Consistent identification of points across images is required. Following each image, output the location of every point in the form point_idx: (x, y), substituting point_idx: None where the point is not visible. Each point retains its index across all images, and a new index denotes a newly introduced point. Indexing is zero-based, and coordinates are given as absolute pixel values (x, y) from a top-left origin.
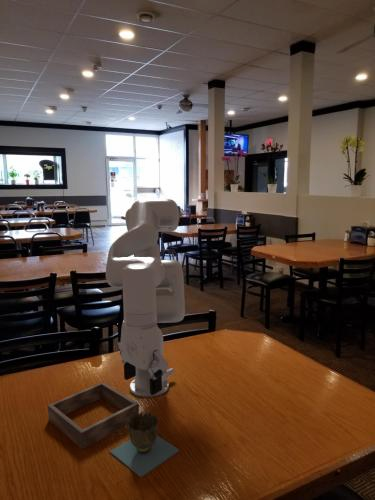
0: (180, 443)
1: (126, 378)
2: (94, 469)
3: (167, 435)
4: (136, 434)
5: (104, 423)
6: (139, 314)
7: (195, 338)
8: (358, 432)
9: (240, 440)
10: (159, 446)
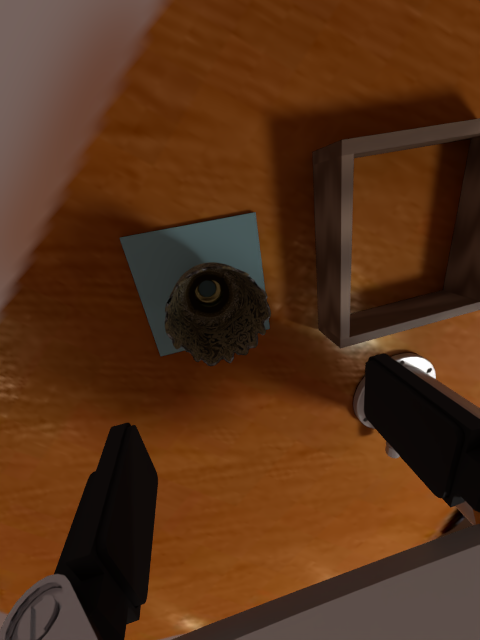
0: (184, 367)
1: (373, 365)
2: (218, 141)
3: None
4: (186, 275)
5: (336, 232)
6: None
7: (444, 511)
8: None
9: None
10: None
